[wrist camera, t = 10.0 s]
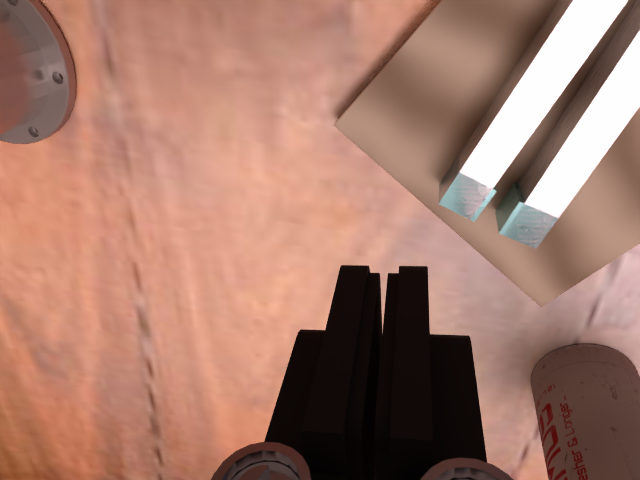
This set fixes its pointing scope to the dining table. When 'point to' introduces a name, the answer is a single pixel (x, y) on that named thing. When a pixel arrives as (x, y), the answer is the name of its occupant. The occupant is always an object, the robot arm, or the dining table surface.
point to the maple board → (463, 117)
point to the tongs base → (525, 101)
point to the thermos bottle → (588, 413)
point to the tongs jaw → (577, 139)
